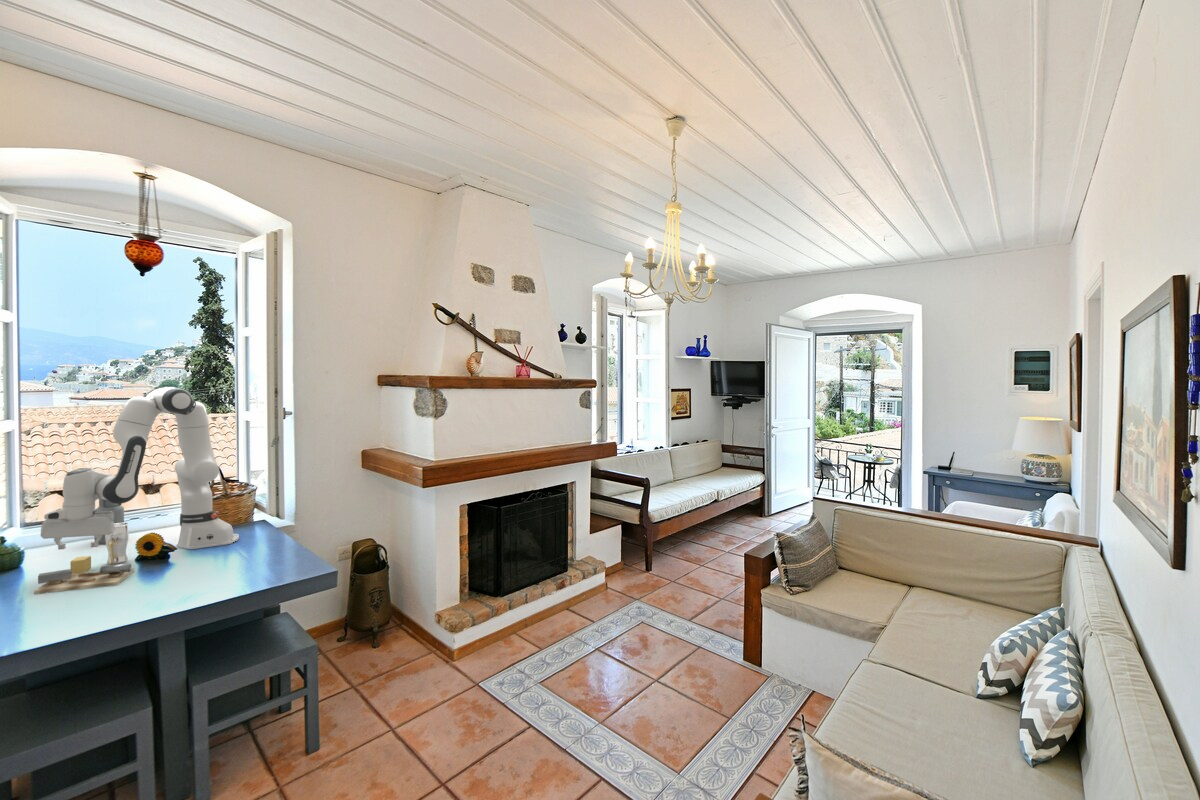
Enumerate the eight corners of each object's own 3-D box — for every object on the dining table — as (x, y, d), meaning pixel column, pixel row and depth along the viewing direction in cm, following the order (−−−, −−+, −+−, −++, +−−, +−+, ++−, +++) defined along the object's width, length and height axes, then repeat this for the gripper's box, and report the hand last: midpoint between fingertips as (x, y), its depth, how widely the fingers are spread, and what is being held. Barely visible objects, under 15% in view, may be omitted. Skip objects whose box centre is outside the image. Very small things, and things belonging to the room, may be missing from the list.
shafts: (131, 570, 194) (131, 562, 194) (125, 575, 190) (125, 566, 190) (43, 579, 184) (43, 570, 184) (35, 584, 180) (35, 575, 180)
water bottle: (128, 540, 234) (127, 479, 233) (98, 546, 226) (97, 482, 225) (120, 536, 240) (119, 476, 239) (91, 541, 231) (90, 479, 230)
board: (133, 571, 199) (133, 565, 199) (117, 585, 186) (117, 578, 186) (56, 579, 190) (56, 573, 190) (34, 594, 177) (34, 587, 177)
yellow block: (77, 569, 199) (77, 557, 199) (91, 568, 201) (90, 555, 201) (70, 574, 195) (70, 561, 195) (84, 573, 196) (84, 560, 196)
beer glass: (102, 562, 207) (101, 525, 206) (124, 557, 213) (124, 521, 213) (109, 566, 204) (109, 528, 203) (132, 560, 210) (131, 524, 209)
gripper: (118, 508, 204) (117, 543, 204) (48, 511, 196) (47, 547, 196) (110, 511, 198) (110, 547, 198) (38, 515, 190) (37, 552, 190)
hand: (78, 547), depth 197 cm, fingers open, 8 cm apart
